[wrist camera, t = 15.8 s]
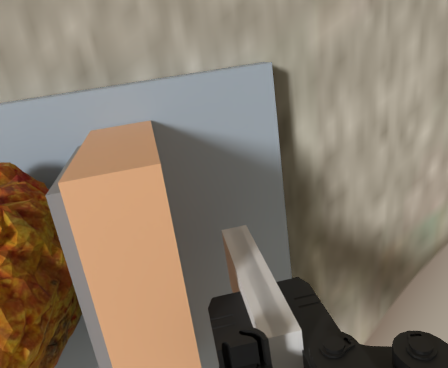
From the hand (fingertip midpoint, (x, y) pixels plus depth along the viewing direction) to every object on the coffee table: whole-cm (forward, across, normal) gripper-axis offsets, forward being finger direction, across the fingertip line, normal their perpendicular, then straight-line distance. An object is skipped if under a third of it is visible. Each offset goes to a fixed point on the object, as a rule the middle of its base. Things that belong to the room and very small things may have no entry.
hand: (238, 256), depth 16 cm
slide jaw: (+2, -4, 0) cm, 4 cm away
